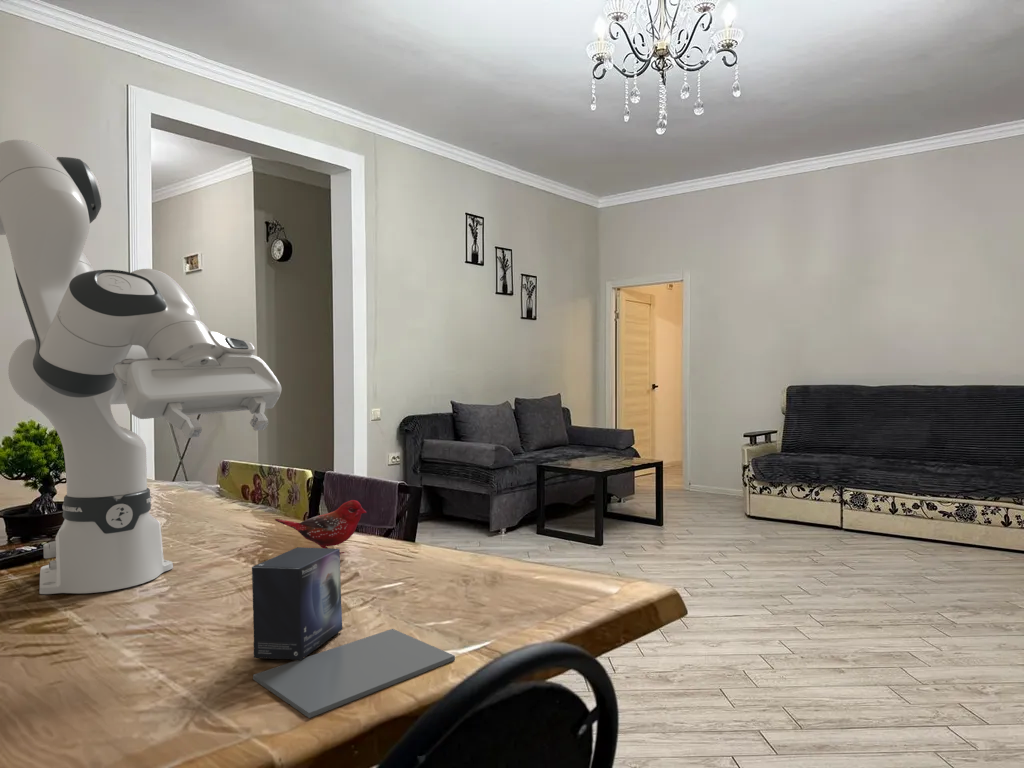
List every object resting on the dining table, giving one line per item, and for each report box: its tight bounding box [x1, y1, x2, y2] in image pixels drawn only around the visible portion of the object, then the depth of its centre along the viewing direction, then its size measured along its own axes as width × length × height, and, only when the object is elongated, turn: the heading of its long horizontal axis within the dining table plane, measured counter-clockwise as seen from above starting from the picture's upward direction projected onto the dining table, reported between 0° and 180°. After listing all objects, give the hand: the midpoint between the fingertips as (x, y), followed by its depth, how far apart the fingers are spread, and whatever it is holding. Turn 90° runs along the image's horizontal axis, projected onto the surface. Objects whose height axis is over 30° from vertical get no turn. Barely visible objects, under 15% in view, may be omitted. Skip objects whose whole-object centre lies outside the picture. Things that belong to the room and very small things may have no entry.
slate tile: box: [252, 628, 456, 719], centre depth 76 cm, size 12×18×1 cm, turn 135°
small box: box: [251, 546, 343, 661], centre depth 83 cm, size 11×6×10 cm, turn 168°
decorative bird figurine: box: [274, 499, 367, 555], centre depth 124 cm, size 3×18×10 cm, turn 80°
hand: (230, 430), depth 90 cm, fingers open, 8 cm apart
